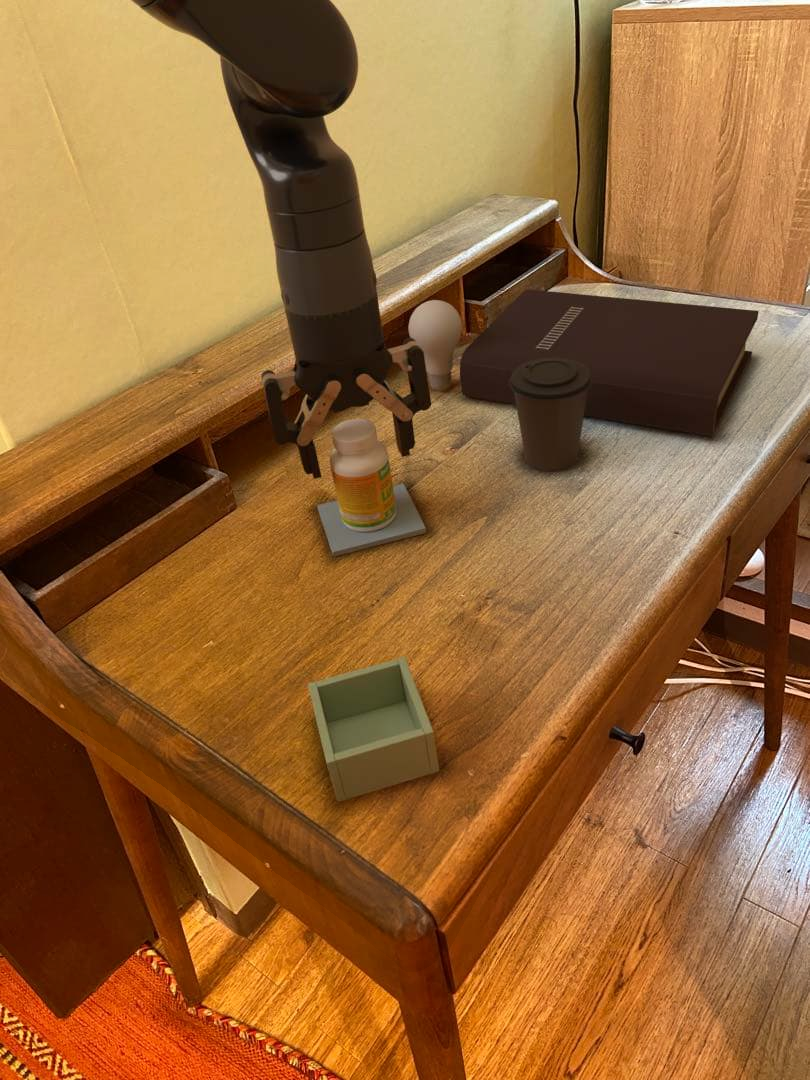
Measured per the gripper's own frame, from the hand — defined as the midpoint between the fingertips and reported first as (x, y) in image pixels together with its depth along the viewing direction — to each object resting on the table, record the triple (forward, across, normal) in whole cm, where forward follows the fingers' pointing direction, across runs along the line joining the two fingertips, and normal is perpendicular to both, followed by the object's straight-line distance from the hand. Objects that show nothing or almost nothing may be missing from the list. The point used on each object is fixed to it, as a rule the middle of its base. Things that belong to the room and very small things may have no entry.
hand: (360, 463), depth 75 cm
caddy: (+7, +6, +26) cm, 28 cm away
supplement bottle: (+6, 0, 0) cm, 6 cm away
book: (+7, -32, -15) cm, 36 cm away
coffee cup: (+7, -20, -3) cm, 21 cm away
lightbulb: (+7, -14, -22) cm, 27 cm away
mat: (+7, 0, 0) cm, 7 cm away
